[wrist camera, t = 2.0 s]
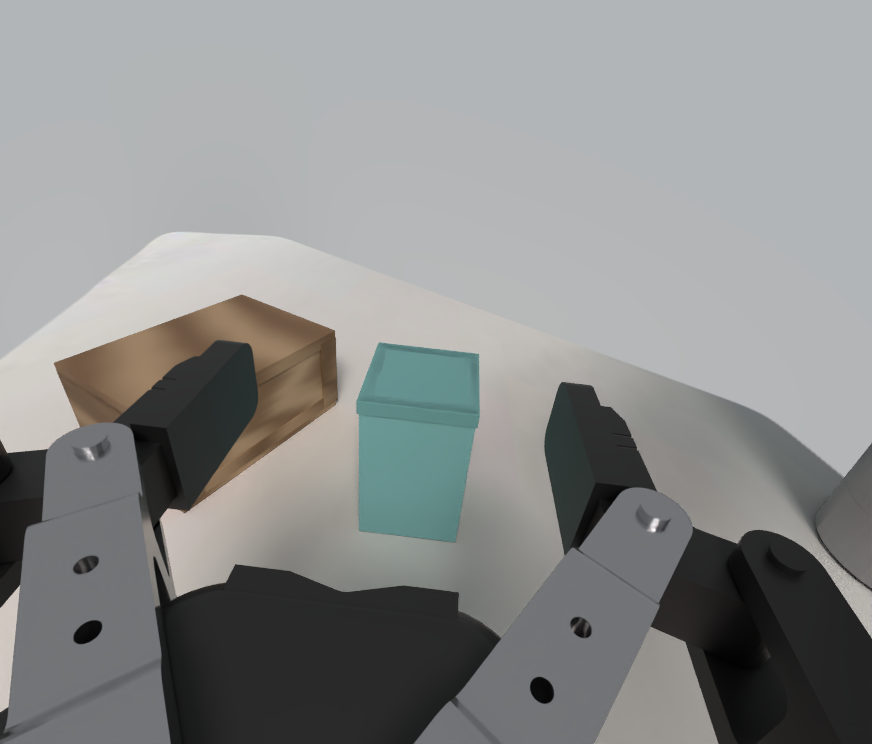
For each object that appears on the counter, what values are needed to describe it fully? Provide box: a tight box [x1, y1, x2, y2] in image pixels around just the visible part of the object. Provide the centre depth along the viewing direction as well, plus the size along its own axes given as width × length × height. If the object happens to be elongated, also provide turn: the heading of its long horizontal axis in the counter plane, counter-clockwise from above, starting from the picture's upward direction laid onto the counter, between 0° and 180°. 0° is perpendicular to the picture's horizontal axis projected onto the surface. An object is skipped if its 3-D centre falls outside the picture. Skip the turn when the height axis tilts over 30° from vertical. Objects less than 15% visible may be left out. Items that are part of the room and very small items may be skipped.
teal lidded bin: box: [357, 343, 480, 542], centre depth 28 cm, size 6×6×10 cm
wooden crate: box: [54, 295, 338, 513], centre depth 34 cm, size 14×10×7 cm
